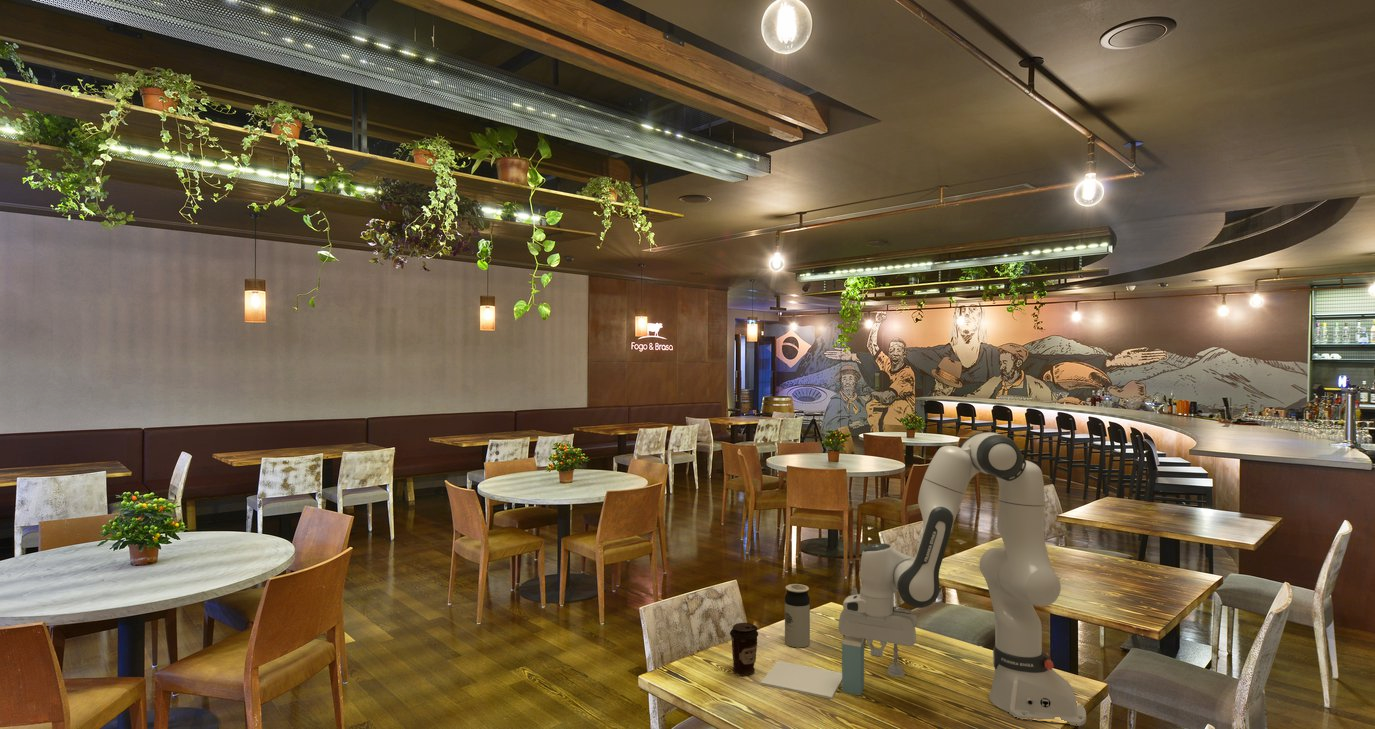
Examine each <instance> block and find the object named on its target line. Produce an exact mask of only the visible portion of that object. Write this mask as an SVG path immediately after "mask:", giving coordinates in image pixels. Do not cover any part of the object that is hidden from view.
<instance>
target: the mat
mask: <svg viewBox="0 0 1375 729" xmlns="http://www.w3.org/2000/svg"><path fill="white" fill-rule="evenodd" d="M760 685H761V686H765V687H771V688H776V689H780V690H784V691H785V690H786V691H790V692H795V693H800V694H805V695H809V696H813V697H819V698H824V699H828V700H833V698H834V696H835V695H836V693H837V691H838V688H839V687H840V685H842V672H839V671H833V670H829V669H823V668H818V667H813V666H807V665H803V664H798V663H797V664H796V663H792V662H786V661H782V660H778V661H777V662H776V663H775V664H774V666H772V668H770V670H769V671H768V672H767V674H766V675H765V676H764V678H763V679H762V680H761V681H760Z"/></svg>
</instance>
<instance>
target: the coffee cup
mask: <svg viewBox="0 0 1375 729" xmlns="http://www.w3.org/2000/svg"><path fill="white" fill-rule="evenodd" d="M758 629H759V628H758V627H757V625H756V624H752V623H751V622H750V623H749V622H738V623H736V624H734V625H733V626H732V628H731V629H730V632H729V635H730V640H731V649H732V651H731V652H732V653H731V654H732V661H733V662H732V663H733V668H732V670H733V672H734V674H736V675H738V676H750V675H752V674H754V673H755V670H756V669H755V663H756V660H757V650H758V637H759V632H758Z"/></svg>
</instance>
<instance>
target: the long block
mask: <svg viewBox="0 0 1375 729" xmlns="http://www.w3.org/2000/svg"><path fill="white" fill-rule="evenodd" d="M841 651H842V652H841V673H842V682H841V692H842V693H845V694H851V695H857V696H862V693H863V691H864V689H865V645H864V638H859V637H853V636H847V635H845V636H844V637H843V638H842V640H841Z"/></svg>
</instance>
